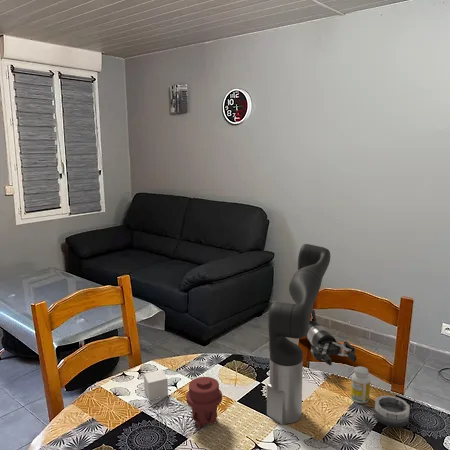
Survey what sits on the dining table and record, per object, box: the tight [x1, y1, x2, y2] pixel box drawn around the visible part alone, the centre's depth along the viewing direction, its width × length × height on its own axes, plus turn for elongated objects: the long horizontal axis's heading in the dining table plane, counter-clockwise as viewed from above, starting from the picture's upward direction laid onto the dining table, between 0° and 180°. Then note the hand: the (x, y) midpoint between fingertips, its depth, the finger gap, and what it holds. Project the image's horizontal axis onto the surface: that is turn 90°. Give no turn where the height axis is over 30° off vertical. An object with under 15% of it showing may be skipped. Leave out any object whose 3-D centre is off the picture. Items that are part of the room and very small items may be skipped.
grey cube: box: [143, 369, 169, 401], centre depth 132 cm, size 6×6×6 cm
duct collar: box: [374, 394, 411, 429], centre depth 119 cm, size 9×9×4 cm
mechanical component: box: [185, 376, 223, 428], centre depth 118 cm, size 12×10×10 cm
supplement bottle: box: [350, 366, 371, 404], centre depth 128 cm, size 5×5×10 cm
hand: (342, 361), depth 138 cm, fingers open, 8 cm apart
